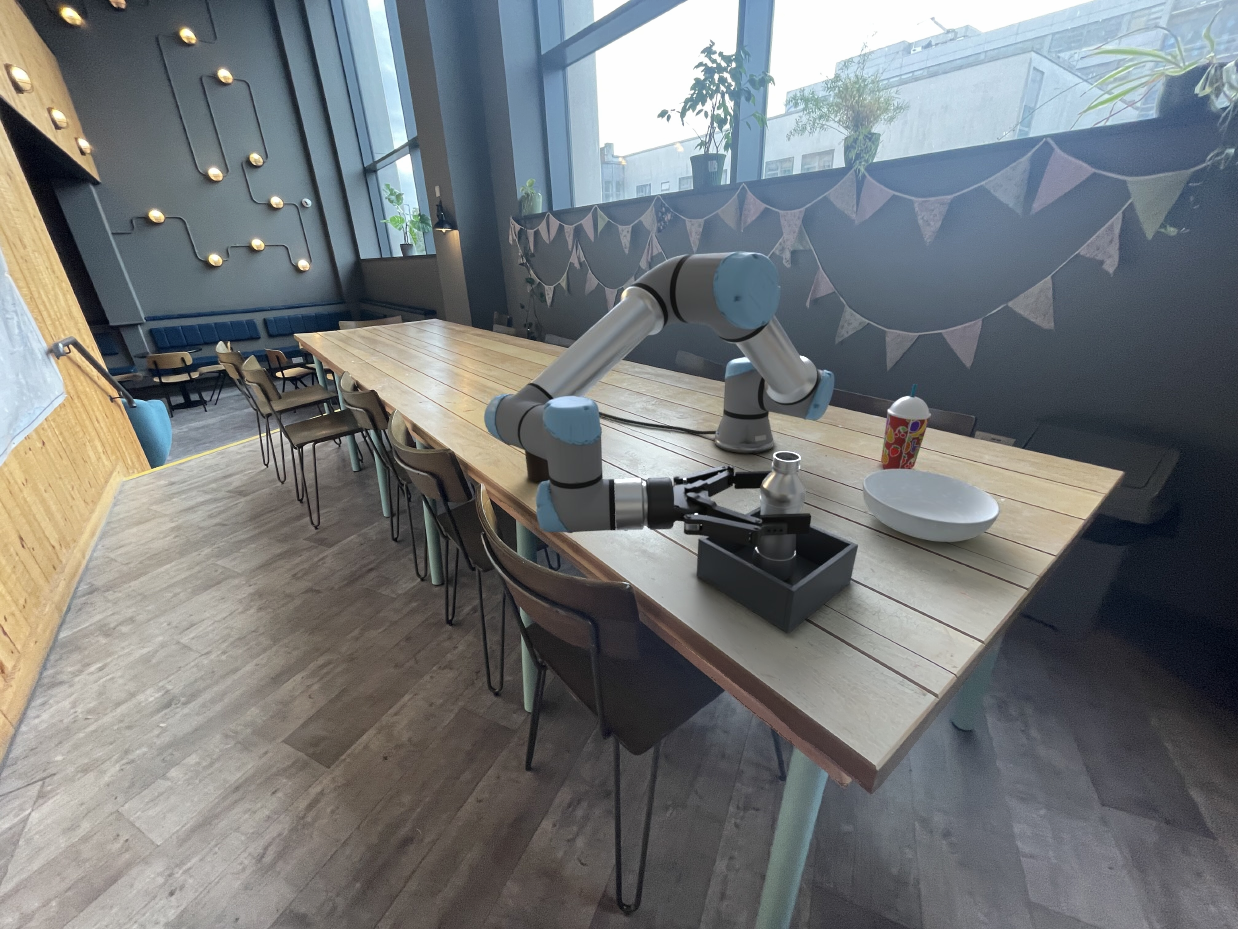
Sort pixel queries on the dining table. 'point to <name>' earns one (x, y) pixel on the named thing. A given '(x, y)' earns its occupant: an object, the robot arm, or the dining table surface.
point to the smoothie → (904, 432)
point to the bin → (779, 602)
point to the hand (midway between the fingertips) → (791, 499)
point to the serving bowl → (929, 504)
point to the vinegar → (537, 468)
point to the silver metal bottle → (780, 497)
